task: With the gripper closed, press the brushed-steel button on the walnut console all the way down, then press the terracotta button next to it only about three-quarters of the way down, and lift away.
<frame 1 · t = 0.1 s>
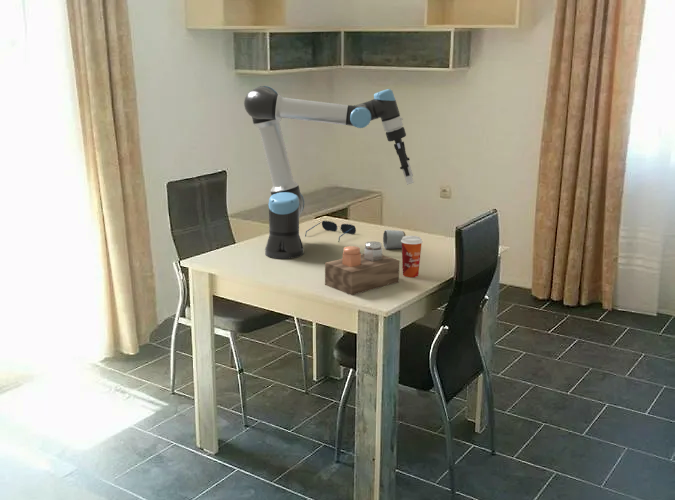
hand: (410, 180, 306), 28 cm above the table, tool tilted 20°, fingers open, 13 cm apart
grey button: (373, 254, 270), point 10 cm above the table, slide at 0.0 cm
button console: (362, 283, 269), on the table
sunglasses: (330, 237, 332), on the table
terracotta button: (351, 259, 264), point 10 cm above the table, slide at 0.0 cm
paper cup: (410, 275, 279), on the table
ceramic mug: (392, 247, 315), on the table
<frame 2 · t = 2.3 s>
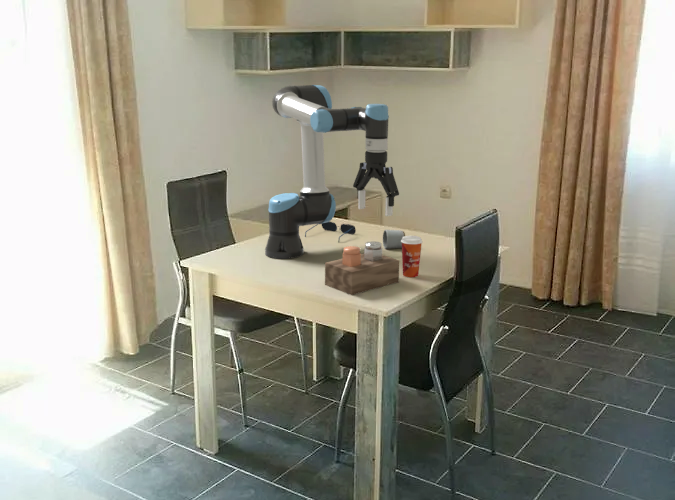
hand: (375, 212, 266), 25 cm above the table, tool pointing down, fingers open, 13 cm apart
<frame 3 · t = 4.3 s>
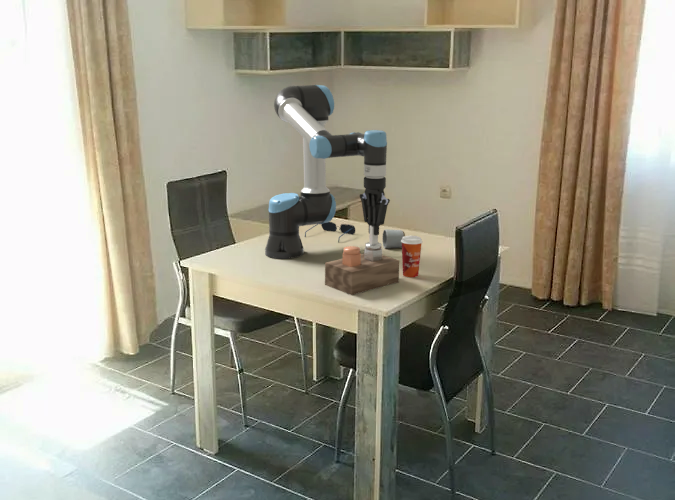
hand: (373, 243, 269), 14 cm above the table, tool pointing down, fingers closed
grey button: (373, 254, 270), point 10 cm above the table, slide at 0.2 cm, touching gripper
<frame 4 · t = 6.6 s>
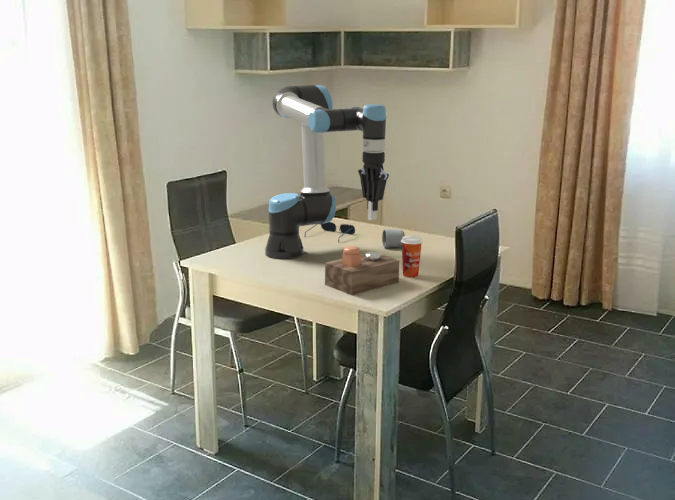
hand: (372, 219, 266), 22 cm above the table, tool pointing down, fingers closed
grey button: (373, 264, 271), point 6 cm above the table, slide at 3.8 cm
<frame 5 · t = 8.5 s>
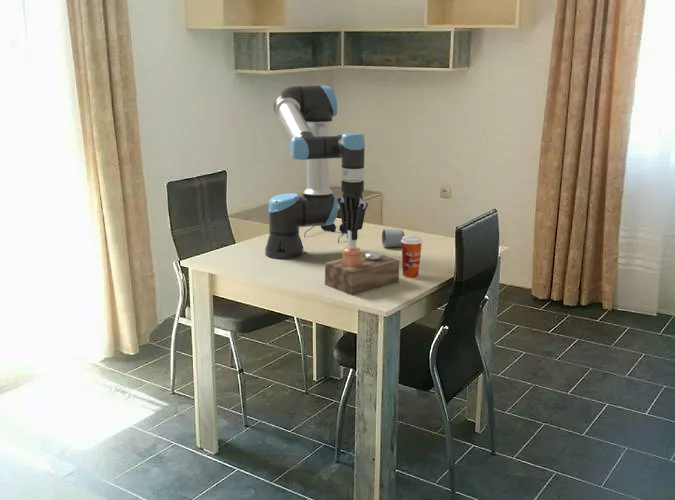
hand: (351, 248, 262), 14 cm above the table, tool pointing down, fingers closed
terracotta button: (351, 259, 264), point 10 cm above the table, slide at 0.3 cm, touching gripper
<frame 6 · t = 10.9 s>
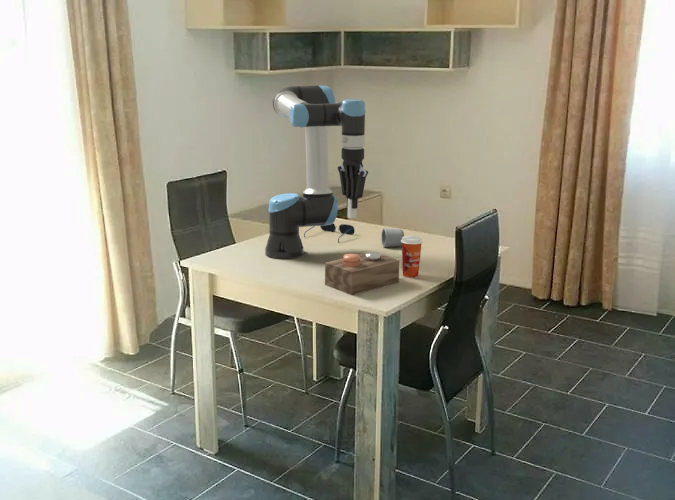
hand: (351, 217, 260), 24 cm above the table, tool pointing down, fingers closed
terracotta button: (351, 266, 264), point 7 cm above the table, slide at 2.7 cm
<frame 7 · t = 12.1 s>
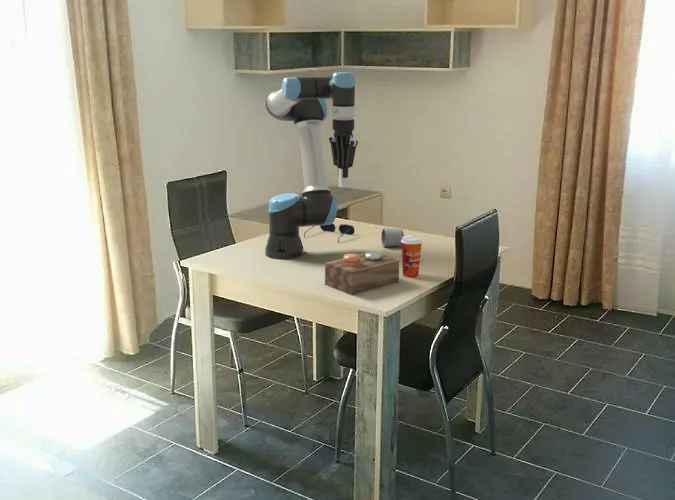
hand: (342, 186, 270), 32 cm above the table, tool pointing down, fingers closed
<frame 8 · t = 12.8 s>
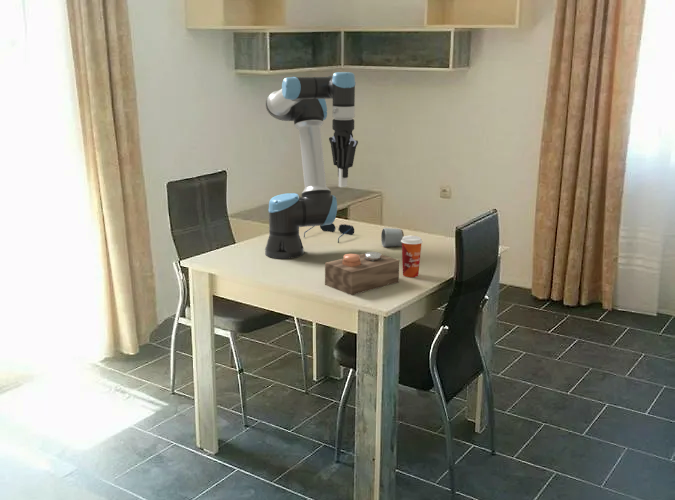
hand: (342, 186, 270), 32 cm above the table, tool pointing down, fingers closed
at the end: grey button slide at 3.8 cm; terracotta button slide at 2.7 cm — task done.
